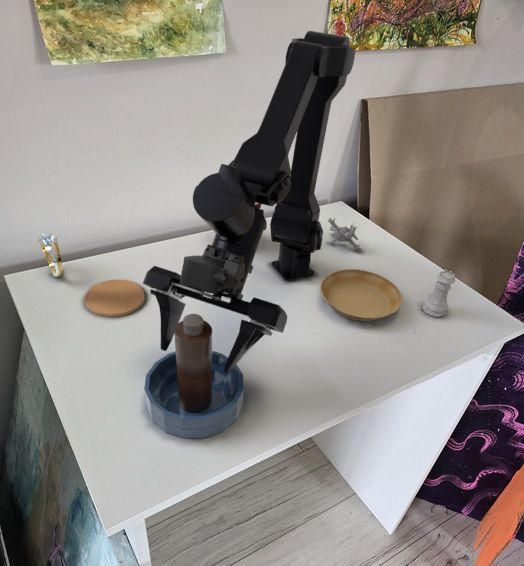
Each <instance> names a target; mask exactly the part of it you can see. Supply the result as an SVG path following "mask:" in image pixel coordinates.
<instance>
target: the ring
mask: <svg viewBox="0 0 524 566" xmlns="http://www.w3.org/2000/svg"><path fill="white" fill-rule="evenodd" d="M36 242H38V245H39V246H40V248H41V250H42V252H43V254H44V255H43V256H44V257H45V259H46V262H47V264H48V266H49V269H50V270H51V272H52V275H53V277H55V278H56V277H61V276H62V272H63V270H62V269H63V267H62V266H63V264H62V256H61V251H60V247H59V244H58V237H57V236H55V235H52V233H51V232H50V233H49V235H46V233H45V232H43V233H42V235H41V236H40V237H39V238H38V239H37V240H36ZM51 248H53V249H51ZM53 250H55V253H54V251H53Z"/></svg>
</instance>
